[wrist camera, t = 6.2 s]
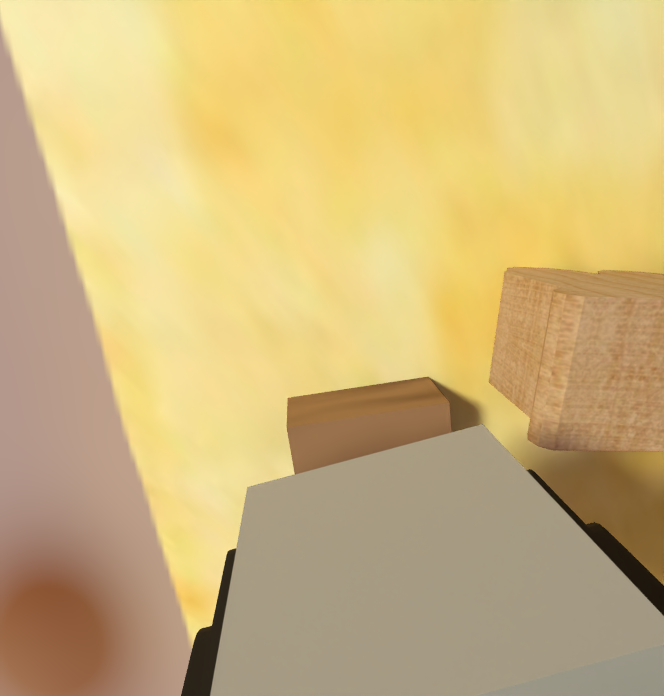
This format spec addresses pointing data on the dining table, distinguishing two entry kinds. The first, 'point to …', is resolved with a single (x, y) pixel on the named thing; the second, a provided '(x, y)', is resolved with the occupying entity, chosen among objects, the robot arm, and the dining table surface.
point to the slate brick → (428, 585)
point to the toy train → (583, 357)
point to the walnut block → (363, 421)
